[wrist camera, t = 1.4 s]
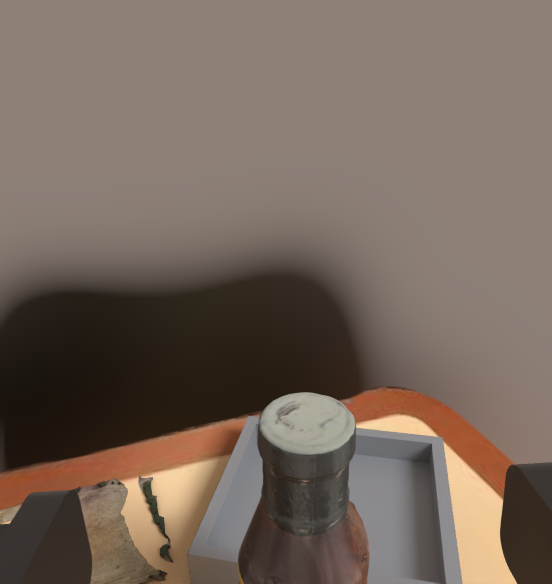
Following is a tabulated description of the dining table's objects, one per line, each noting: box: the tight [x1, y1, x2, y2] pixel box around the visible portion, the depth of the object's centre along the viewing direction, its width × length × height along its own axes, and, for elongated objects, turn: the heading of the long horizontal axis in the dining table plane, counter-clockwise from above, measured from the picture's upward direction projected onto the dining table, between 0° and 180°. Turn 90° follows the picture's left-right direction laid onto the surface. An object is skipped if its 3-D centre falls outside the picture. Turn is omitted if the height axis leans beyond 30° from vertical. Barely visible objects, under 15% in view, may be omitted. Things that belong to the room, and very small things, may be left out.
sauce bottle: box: [238, 393, 370, 584], centre depth 25 cm, size 6×6×20 cm
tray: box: [187, 416, 462, 584], centre depth 40 cm, size 18×16×3 cm
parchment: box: [0, 476, 173, 584], centre depth 40 cm, size 12×13×1 cm
